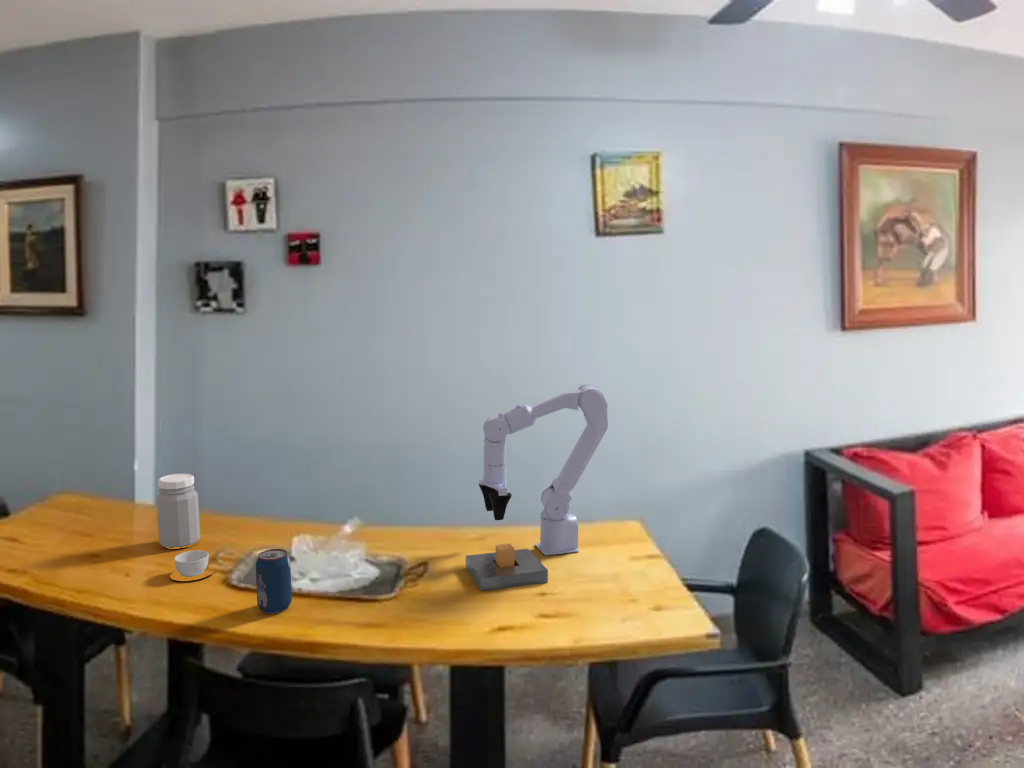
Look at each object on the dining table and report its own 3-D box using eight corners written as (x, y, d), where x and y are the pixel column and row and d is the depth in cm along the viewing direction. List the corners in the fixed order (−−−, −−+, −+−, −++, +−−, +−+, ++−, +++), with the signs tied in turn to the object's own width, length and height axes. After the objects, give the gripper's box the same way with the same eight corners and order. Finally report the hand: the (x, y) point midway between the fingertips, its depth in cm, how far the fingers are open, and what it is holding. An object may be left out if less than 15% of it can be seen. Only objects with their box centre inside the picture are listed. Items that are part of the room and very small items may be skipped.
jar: (159, 540, 188) (155, 474, 185) (200, 535, 192) (196, 471, 189) (158, 553, 179) (154, 484, 177) (200, 547, 183) (197, 480, 181)
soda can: (295, 600, 153) (293, 547, 151) (286, 615, 146) (284, 560, 145) (263, 600, 153) (261, 547, 151) (253, 615, 146) (250, 560, 144)
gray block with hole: (527, 560, 176) (527, 548, 176) (547, 582, 163) (547, 570, 163) (465, 567, 172) (465, 555, 171) (481, 591, 158) (481, 578, 158)
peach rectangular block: (509, 571, 170) (510, 543, 169) (514, 577, 166) (514, 548, 165) (495, 573, 169) (495, 544, 168) (499, 579, 165) (499, 550, 164)
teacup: (198, 585, 161) (197, 566, 160) (159, 581, 163) (158, 562, 162) (224, 568, 170) (223, 550, 170) (187, 565, 172) (186, 546, 172)
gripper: (472, 458, 185) (472, 507, 187) (487, 472, 172) (487, 525, 174) (498, 456, 188) (497, 505, 190) (515, 469, 174) (514, 522, 176)
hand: (494, 515), depth 182 cm, fingers open, 7 cm apart
